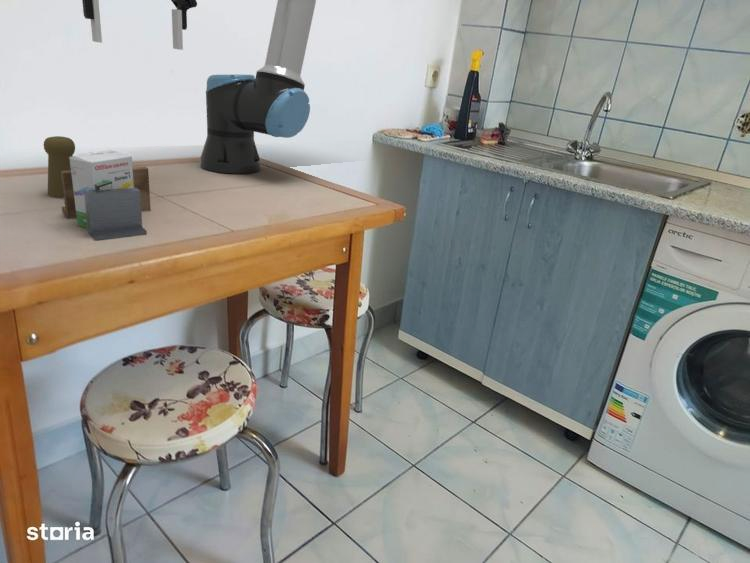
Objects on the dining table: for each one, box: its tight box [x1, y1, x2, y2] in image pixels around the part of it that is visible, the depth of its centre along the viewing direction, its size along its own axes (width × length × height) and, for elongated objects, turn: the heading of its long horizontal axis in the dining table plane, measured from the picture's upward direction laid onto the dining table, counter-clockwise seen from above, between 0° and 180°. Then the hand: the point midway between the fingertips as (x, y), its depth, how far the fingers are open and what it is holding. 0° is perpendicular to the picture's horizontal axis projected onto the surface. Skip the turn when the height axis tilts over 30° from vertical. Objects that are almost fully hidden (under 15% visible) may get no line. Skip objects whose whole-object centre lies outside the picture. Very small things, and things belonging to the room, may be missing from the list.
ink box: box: [69, 150, 134, 229], centre depth 92 cm, size 8×5×12 cm, turn 155°
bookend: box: [84, 188, 148, 241], centre depth 88 cm, size 8×4×7 cm, turn 130°
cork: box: [43, 135, 76, 199], centre depth 104 cm, size 6×6×11 cm
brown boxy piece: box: [61, 166, 152, 219], centre depth 98 cm, size 14×4×8 cm, turn 130°
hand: (139, 46), depth 94 cm, fingers open, 13 cm apart
